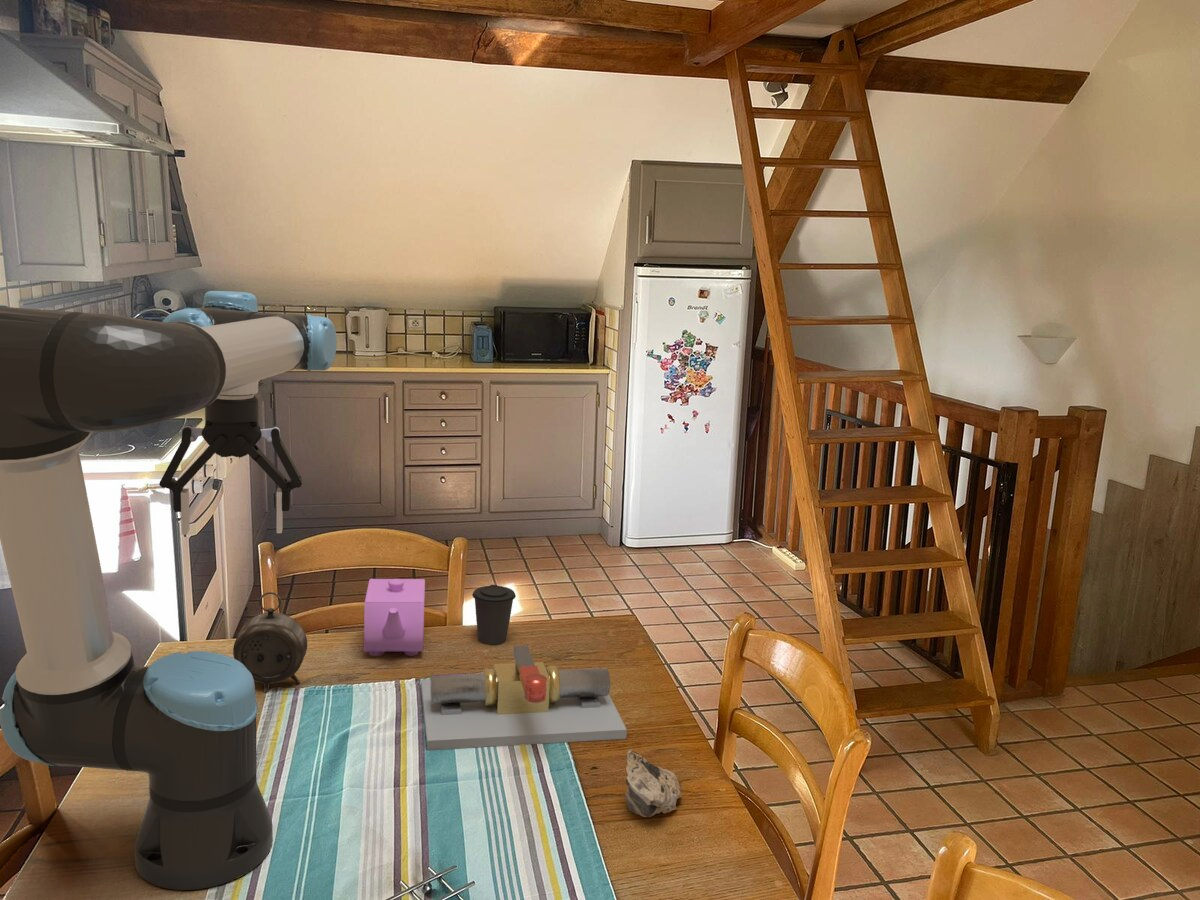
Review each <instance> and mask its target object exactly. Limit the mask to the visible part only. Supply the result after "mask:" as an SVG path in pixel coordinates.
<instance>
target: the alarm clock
mask: <svg viewBox="0 0 1200 900" xmlns="http://www.w3.org/2000/svg"><path fill="white" fill-rule="evenodd" d="M267 595H273V596H275V597H277V599H278V600H279V601H278V602H279V603H278V605H277V607H275V608H273V607H269V608H267V609H266V608H265V607H264V606H263V604H262V599H263V598H264V597H265V596H267ZM258 604H259V607H260V608H261V610H263V611H265V612H262V613H259V614H257V615H254V616H253V617H251V618H250V619H249V620H248V621H246V622H245V624H244V625H243V626H242V627H241V629H240V631H239V632H238V635H237V637H236V639H235V640H234V644H233V650H232V654H233V658H234V659H236V660H238V661H239V662H241V663H242V664H243V665H244V666H245V667H246V668H247V670H249V671H250V673H251V674H252V676H253V679H254V682H257V683H260V684H264V688H263V689H264V690H263V691H264V693H267V692H269V690H270V689H269V688H270V684H272V685H273V684H277V683H281V682H284V681H286V680H288V679H290V678H291V679H292V680H293V681H294V683H295V684H296V685H299V684H300V679H298V677H297V675H296V673H297V672H298V671H299V669H300V668H301V666H302V663H303V661H304V658H305V656H306V654H307V651H308V638H307V635H306V632H305V630H304V629H303V627H302V626H301V625H300V623H299V622H298V621H296V620H295V619H294V618H293V617H291V616H289V615H286V614H284V613H279V612H276V611H277V610H278V609H279V608H281V605H282V599H281V597H280V595H279V594H277V593H276V592H273V591H268V592H265V593H263V594H261V596H260V597H259V601H258Z"/></svg>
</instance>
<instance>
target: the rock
mask: <svg viewBox="0 0 1200 900" xmlns="http://www.w3.org/2000/svg"><path fill="white" fill-rule="evenodd" d="M626 755H627V756H626V763H627V765H626V767H625V769H626V775H627V777H626V780H625V783H626V786H627V790H626V792H625V795H624V798H625V803H626V807H627V810H628V811H629V812H632V814H633V813H634V814H635V815H637V816H641V817H643V818H651V817H653V816H655V815H656V814H659V815H660V814H661V813H662V814H667V813H671V812H672V811H675V810H676V809H677V805H676V804H677V800H678V799H680V798H682V797H683V795H682V787H681V785H680V783H679V780H678V777H677V776H676V774H675V773H674V772H673V771H672V770H669V769H665V768H662V767H660V766H657V765H655V764H654V763H653V764H652V763H651V762H650V761H648V760H647V758H644V757H643V755H641V754H640V753H638V752H636V751H634V748H629V749H628V751H627V753H626Z"/></svg>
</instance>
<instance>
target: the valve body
mask: <svg viewBox="0 0 1200 900" xmlns="http://www.w3.org/2000/svg"><path fill="white" fill-rule="evenodd" d="M534 664H535V666H537V667H538V670H539V673H540V675H543V676H545V677H546V678H547V683H546V699H545V701H543V702H539V703H532V702H529V701H528V702H527V700H526V699H525V693H524V690H523V687H522V683H521V680H520V677H519V675H520V673H518V672H516V671H515V665H516V662H511V663H509V662H508V663H505V662H504V663H493V667H485V668H483V670H482V672H476V673H475V672H473V673H472V672H471V673H450V674H449V673H448V674H446V673H445V674H444V673H443V674H431V675H430V679H431V680H430V699H431V704H440V709H441V715H456V714H461V704H460V703H469V702H483V704H484V706H495V708H496V712H497V715H500V714H520V713H540V712H548V707H549V703H558V702H559V699H560V698H575V697H577V699H578V701H579V703H580V706H581V708H597V707H600V700H599V698H598V696H608V695H610V691H611V690H610V689H611V679H610V677H611V676H610V672H609V669H608V668H607V667H602V668H601V667H600V668H597V667H596V668H576V669H559V666H558V665H546V666H545V662H544V661H539V662H537V661H536V662H534Z"/></svg>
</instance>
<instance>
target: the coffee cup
mask: <svg viewBox="0 0 1200 900" xmlns="http://www.w3.org/2000/svg"><path fill="white" fill-rule="evenodd" d="M471 596H472V598H474V604H475V605H474V606H475V617H476V619H475V621H476V632H477V640H478V642H479V643H481V644H482V645H487V646H499V645H503V644H505V643H506V642H507V639H508V633H509V628H510V627H509V626H510V620H511V614H512V608H513V603H514V602H513V601H514V599H516V596H517V595H516V593H515V591H514V590H513V589H511V588H510V587H506V586H503V585H498V584H490V585H483V586H480V587H477V588H475V590H473V592H472V594H471Z"/></svg>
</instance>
